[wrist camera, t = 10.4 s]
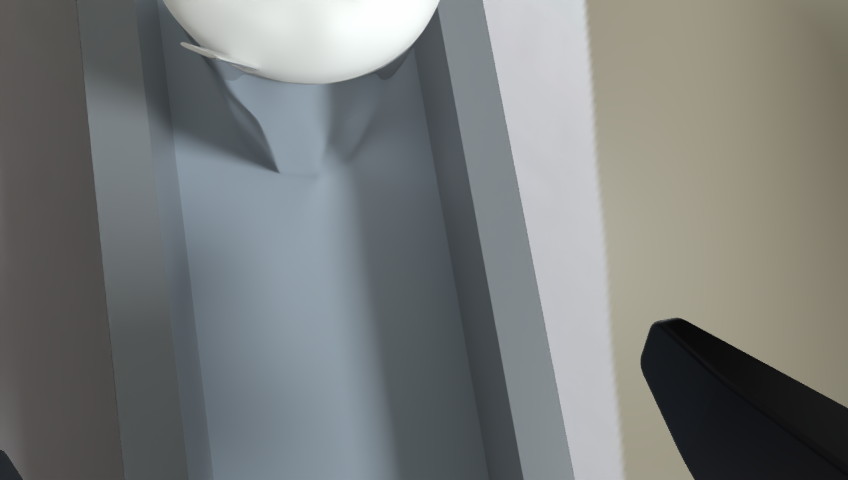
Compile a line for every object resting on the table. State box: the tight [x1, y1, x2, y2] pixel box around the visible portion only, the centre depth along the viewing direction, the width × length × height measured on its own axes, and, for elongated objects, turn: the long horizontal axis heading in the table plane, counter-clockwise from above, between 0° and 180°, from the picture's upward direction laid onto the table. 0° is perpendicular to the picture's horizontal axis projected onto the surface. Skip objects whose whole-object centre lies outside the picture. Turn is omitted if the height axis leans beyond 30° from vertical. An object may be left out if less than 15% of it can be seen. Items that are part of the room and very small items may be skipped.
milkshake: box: [163, 0, 440, 176], centre depth 12 cm, size 5×5×10 cm
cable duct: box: [76, 0, 575, 480], centre depth 16 cm, size 22×9×4 cm, turn 9°
